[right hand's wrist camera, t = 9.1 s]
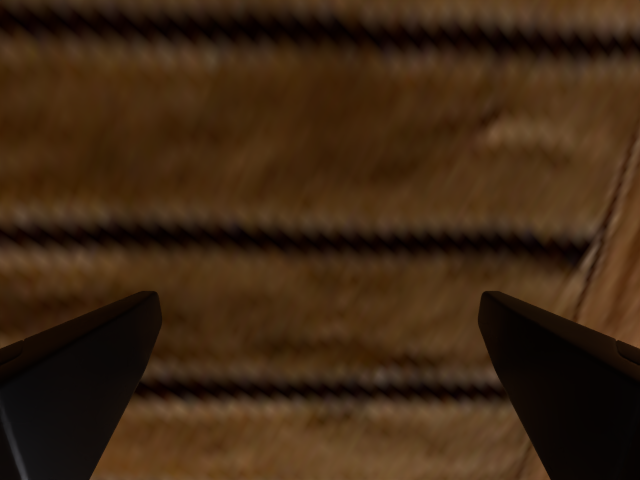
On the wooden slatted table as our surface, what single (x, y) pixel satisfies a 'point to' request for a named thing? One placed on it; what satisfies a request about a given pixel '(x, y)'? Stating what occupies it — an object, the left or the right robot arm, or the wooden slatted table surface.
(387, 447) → the wooden slatted table surface
